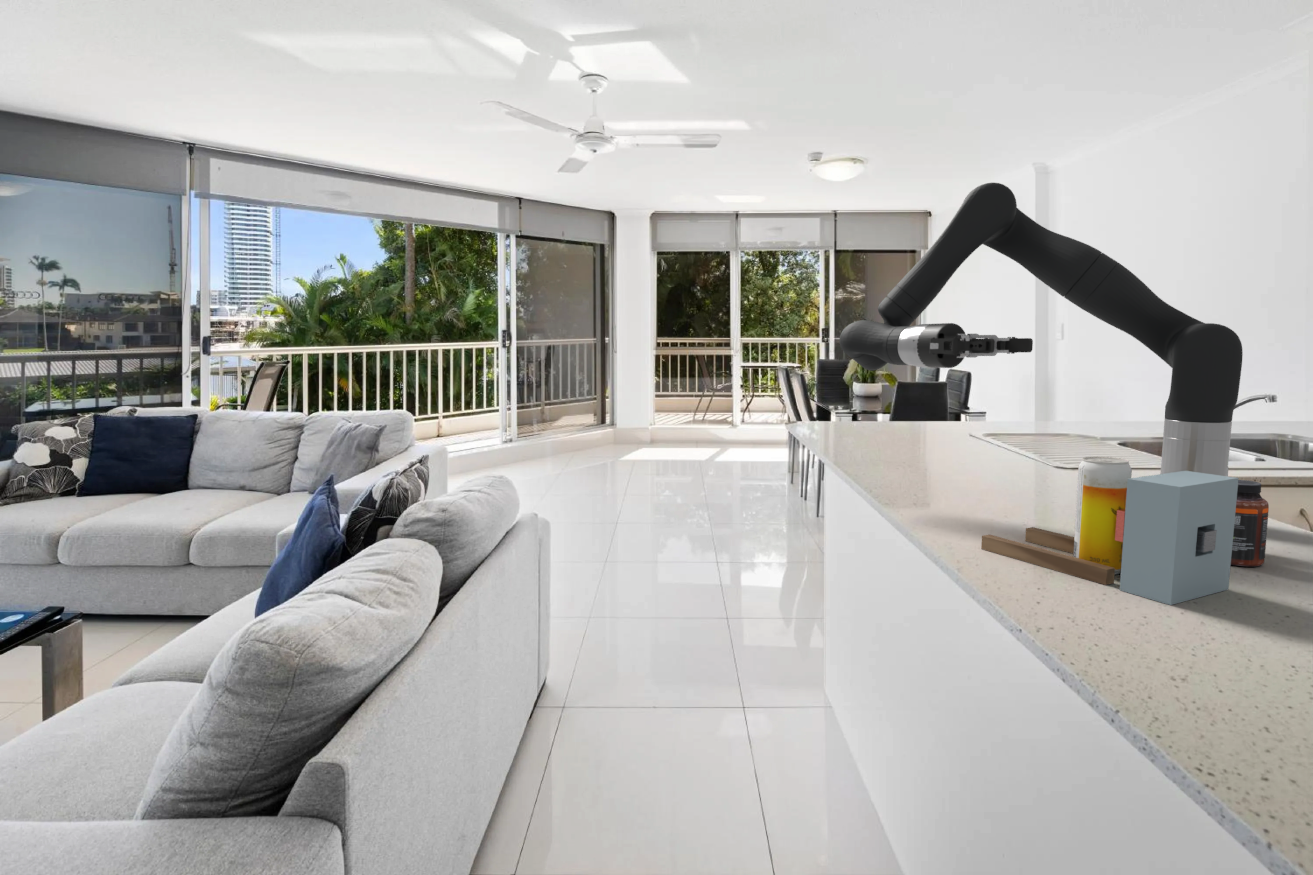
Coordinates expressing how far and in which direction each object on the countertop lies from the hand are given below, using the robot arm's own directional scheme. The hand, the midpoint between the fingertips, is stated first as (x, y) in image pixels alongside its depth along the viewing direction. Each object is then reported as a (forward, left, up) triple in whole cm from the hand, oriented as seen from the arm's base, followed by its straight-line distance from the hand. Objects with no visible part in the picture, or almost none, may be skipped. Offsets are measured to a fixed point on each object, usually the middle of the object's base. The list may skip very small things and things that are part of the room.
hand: (1012, 345), depth 116 cm
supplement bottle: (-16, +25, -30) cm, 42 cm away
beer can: (+4, +18, -30) cm, 36 cm away
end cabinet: (+4, +28, -30) cm, 41 cm away
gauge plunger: (+4, +27, -25) cm, 37 cm away
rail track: (+4, +14, -30) cm, 33 cm away
